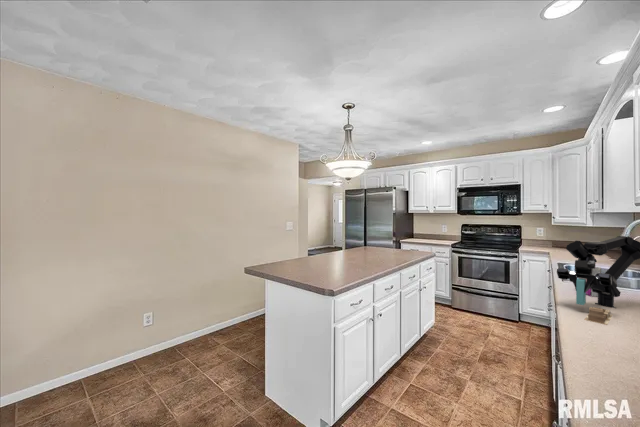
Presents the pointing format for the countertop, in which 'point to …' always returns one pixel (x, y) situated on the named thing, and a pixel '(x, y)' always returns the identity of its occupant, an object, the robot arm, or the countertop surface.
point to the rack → (606, 312)
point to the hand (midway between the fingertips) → (580, 291)
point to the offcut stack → (596, 315)
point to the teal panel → (580, 291)
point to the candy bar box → (590, 292)
